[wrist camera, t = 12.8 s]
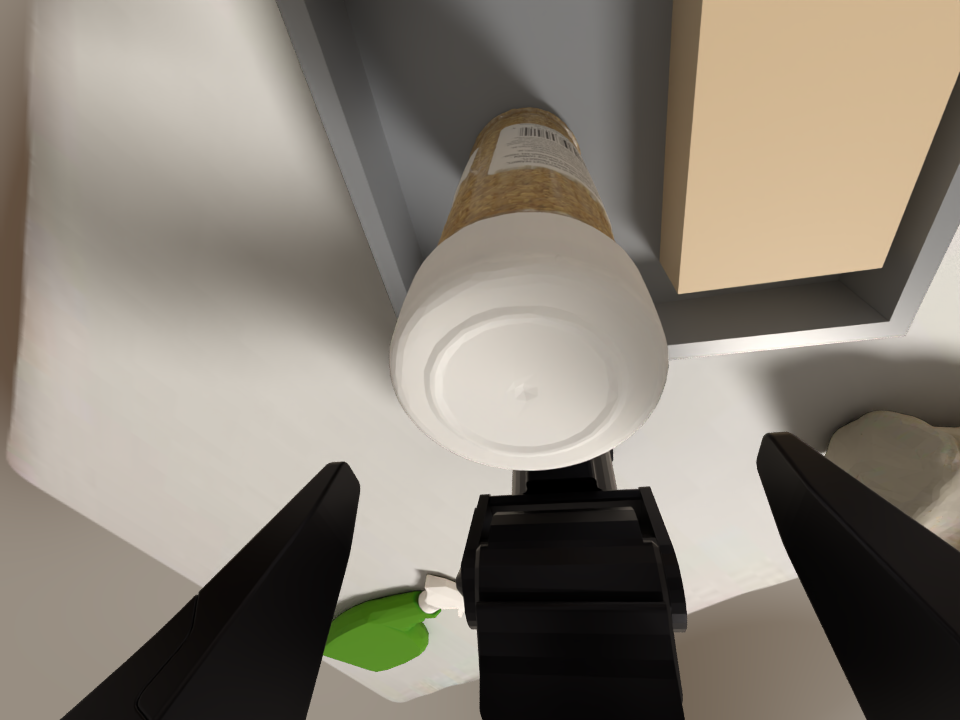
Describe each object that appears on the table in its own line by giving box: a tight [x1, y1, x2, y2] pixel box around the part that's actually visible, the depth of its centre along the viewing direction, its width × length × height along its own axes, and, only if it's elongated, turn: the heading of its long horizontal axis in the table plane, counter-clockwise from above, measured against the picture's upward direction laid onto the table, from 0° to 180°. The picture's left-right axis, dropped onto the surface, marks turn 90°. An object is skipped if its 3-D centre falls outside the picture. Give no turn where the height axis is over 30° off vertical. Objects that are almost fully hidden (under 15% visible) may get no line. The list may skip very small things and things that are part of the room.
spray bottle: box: [323, 574, 465, 672], centre depth 48 cm, size 3×11×24 cm
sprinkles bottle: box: [389, 107, 669, 471], centre depth 12 cm, size 5×5×14 cm
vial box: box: [659, 0, 960, 294], centre depth 14 cm, size 10×7×3 cm
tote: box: [276, 0, 960, 360], centre depth 15 cm, size 16×20×4 cm
